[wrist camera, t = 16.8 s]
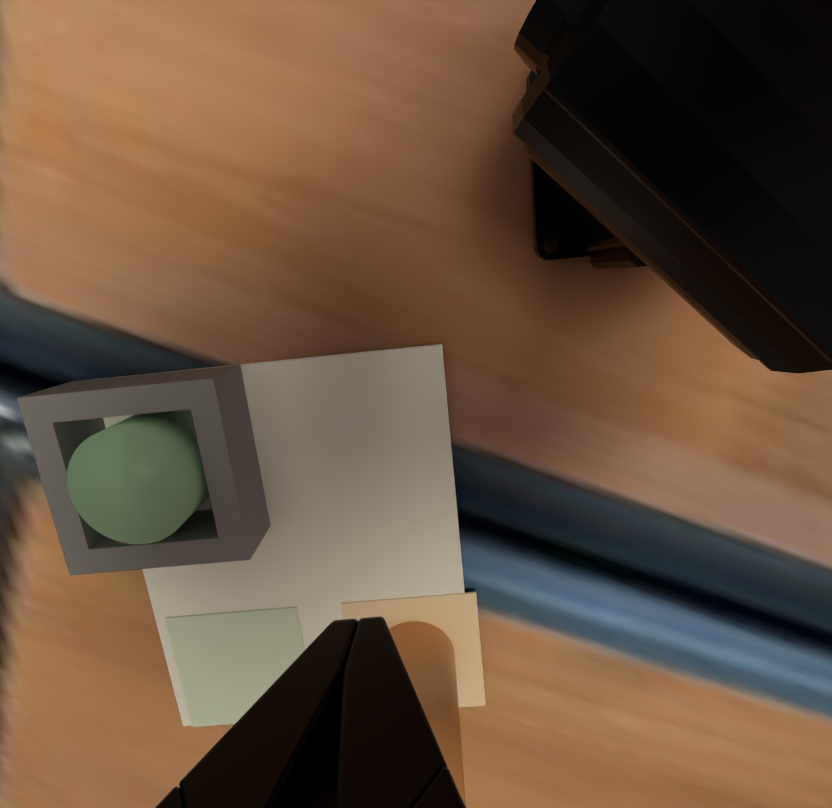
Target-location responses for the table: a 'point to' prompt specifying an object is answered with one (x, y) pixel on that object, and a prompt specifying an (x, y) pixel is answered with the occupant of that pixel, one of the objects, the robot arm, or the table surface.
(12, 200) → the table surface
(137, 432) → the button
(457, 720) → the tan cylindrical piece
